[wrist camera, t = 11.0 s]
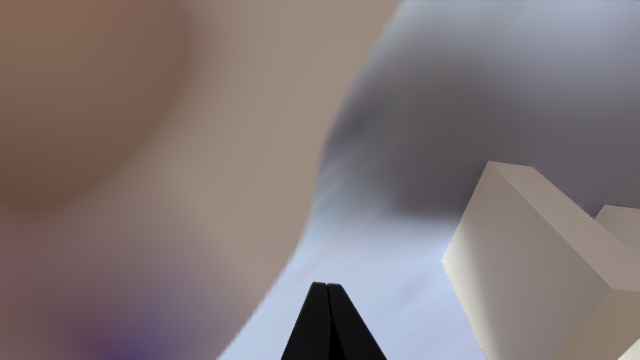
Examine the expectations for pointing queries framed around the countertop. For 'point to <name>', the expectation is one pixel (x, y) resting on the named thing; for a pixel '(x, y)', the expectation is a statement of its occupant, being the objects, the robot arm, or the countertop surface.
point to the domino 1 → (541, 273)
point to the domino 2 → (635, 233)
